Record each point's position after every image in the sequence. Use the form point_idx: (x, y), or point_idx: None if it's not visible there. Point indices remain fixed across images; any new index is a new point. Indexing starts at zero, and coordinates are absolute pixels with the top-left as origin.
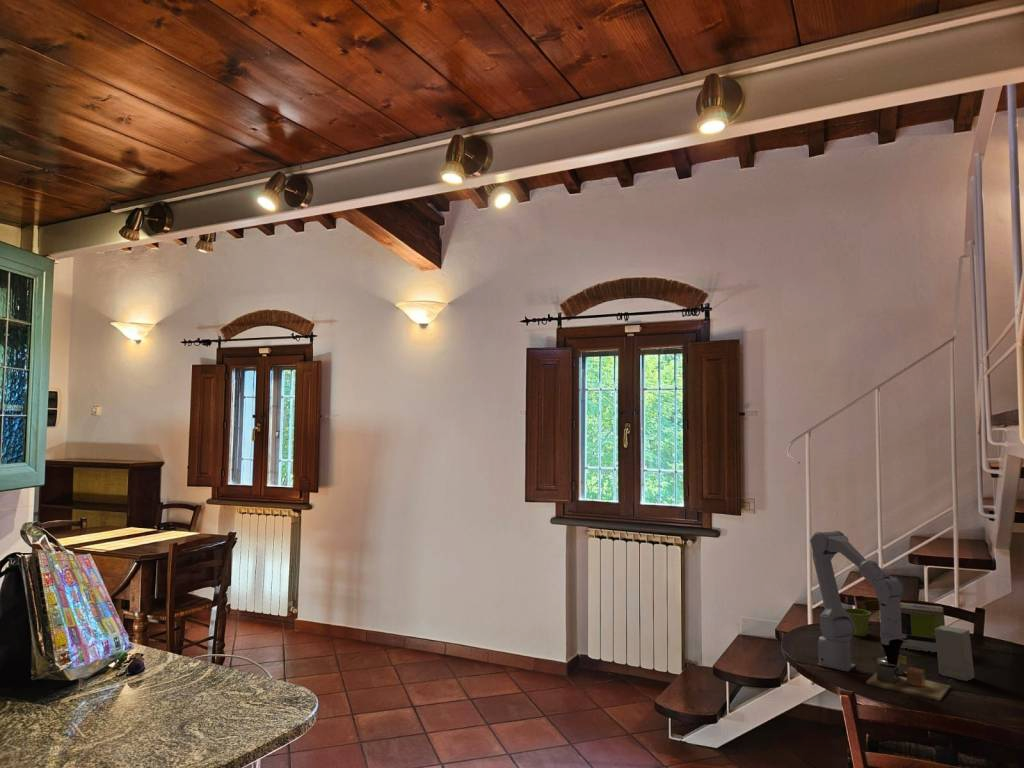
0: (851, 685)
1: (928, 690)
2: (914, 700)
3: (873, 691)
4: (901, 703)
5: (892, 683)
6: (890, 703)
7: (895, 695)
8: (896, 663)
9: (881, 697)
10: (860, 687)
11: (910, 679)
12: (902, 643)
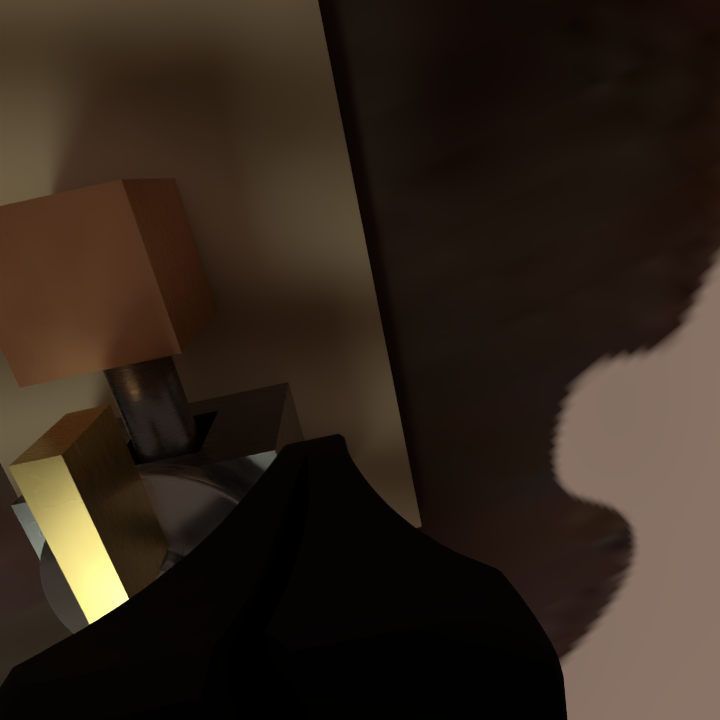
0: (533, 549)
1: (174, 112)
2: (485, 111)
3: (536, 412)
4: (649, 149)
5: (292, 398)
6: (715, 207)
7: (491, 273)
8: (317, 441)
9: (625, 316)
10: (524, 500)
11: (196, 290)
12: (63, 654)
